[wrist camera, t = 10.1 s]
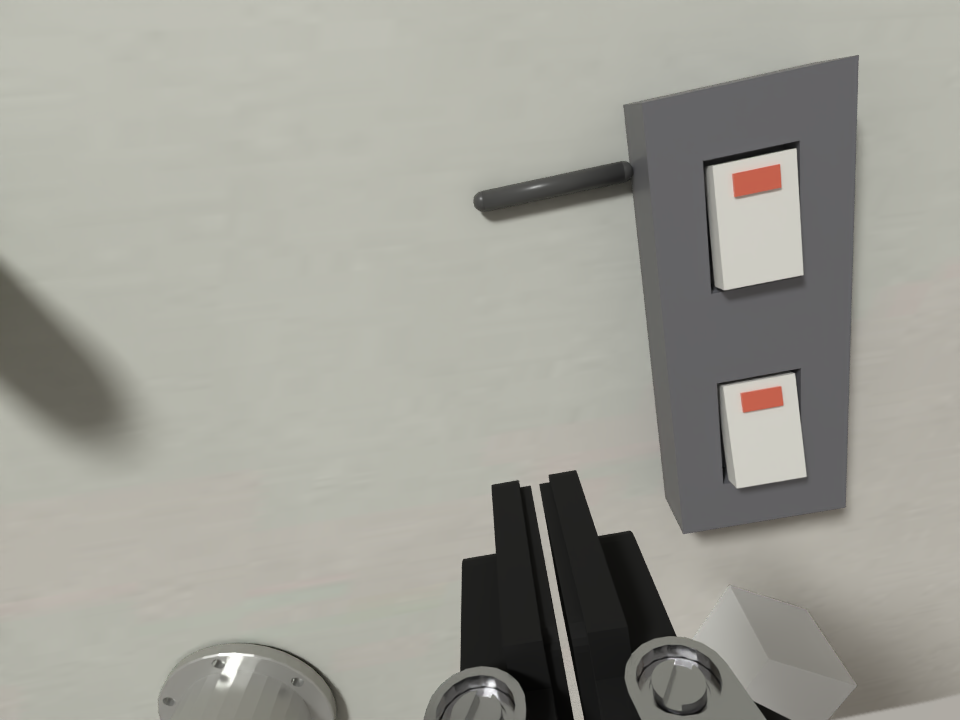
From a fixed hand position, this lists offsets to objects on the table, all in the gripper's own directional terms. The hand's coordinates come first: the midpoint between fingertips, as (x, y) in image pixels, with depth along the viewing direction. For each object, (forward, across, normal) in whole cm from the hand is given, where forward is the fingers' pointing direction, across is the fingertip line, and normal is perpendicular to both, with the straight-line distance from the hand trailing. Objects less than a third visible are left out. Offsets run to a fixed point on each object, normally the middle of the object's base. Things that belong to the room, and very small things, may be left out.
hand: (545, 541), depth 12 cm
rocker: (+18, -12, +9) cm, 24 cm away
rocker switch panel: (+22, -8, +4) cm, 23 cm away
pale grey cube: (+22, -13, +27) cm, 37 cm away
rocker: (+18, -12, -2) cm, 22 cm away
